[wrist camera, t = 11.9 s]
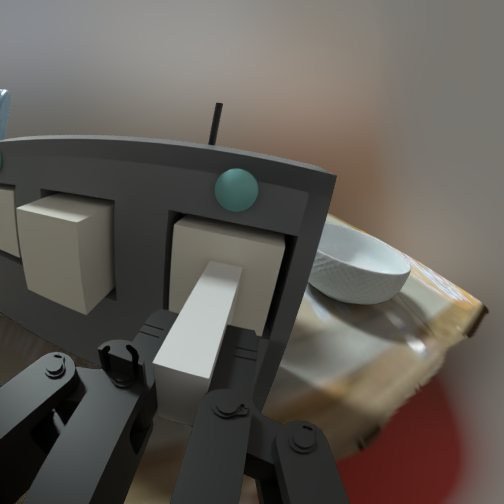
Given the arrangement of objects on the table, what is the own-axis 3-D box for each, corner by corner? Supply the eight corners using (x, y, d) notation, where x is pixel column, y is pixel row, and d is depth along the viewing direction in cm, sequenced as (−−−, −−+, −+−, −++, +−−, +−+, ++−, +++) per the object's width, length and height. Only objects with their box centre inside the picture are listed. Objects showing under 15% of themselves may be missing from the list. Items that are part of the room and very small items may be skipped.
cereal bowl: (302, 324, 28) (322, 265, 26) (271, 257, 43) (281, 214, 41) (413, 322, 32) (434, 276, 29) (361, 267, 47) (373, 231, 44)
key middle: (86, 315, 12) (77, 222, 10) (27, 289, 12) (16, 208, 10) (121, 280, 16) (121, 202, 14) (64, 262, 16) (60, 192, 14)
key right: (261, 336, 14) (284, 247, 12) (168, 314, 14) (174, 224, 12) (265, 297, 17) (283, 222, 16) (189, 280, 18) (198, 205, 16)
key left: (19, 257, 15) (13, 191, 13) (-10, 244, 15) (-16, 186, 13) (51, 239, 18) (49, 180, 16) (19, 229, 18) (17, 176, 16)
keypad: (260, 416, 17) (338, 176, 11) (-3, 314, 17) (-26, 145, 11) (265, 357, 22) (317, 166, 16) (34, 285, 23) (24, 136, 17)
